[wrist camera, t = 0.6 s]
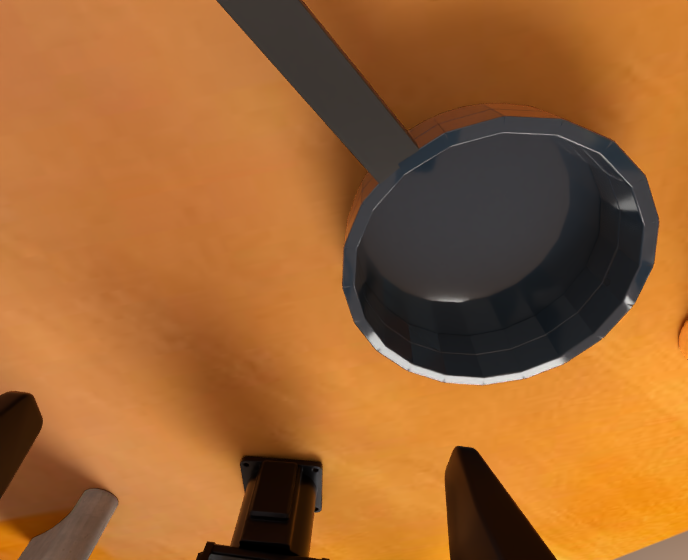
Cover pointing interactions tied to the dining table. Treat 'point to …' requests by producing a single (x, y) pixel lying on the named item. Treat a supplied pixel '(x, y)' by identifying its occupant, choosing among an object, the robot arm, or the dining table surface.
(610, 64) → the dining table surface
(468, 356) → the saucepan
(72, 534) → the hip flask
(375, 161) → the saucepan handle
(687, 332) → the chrome pilsner tumbler
